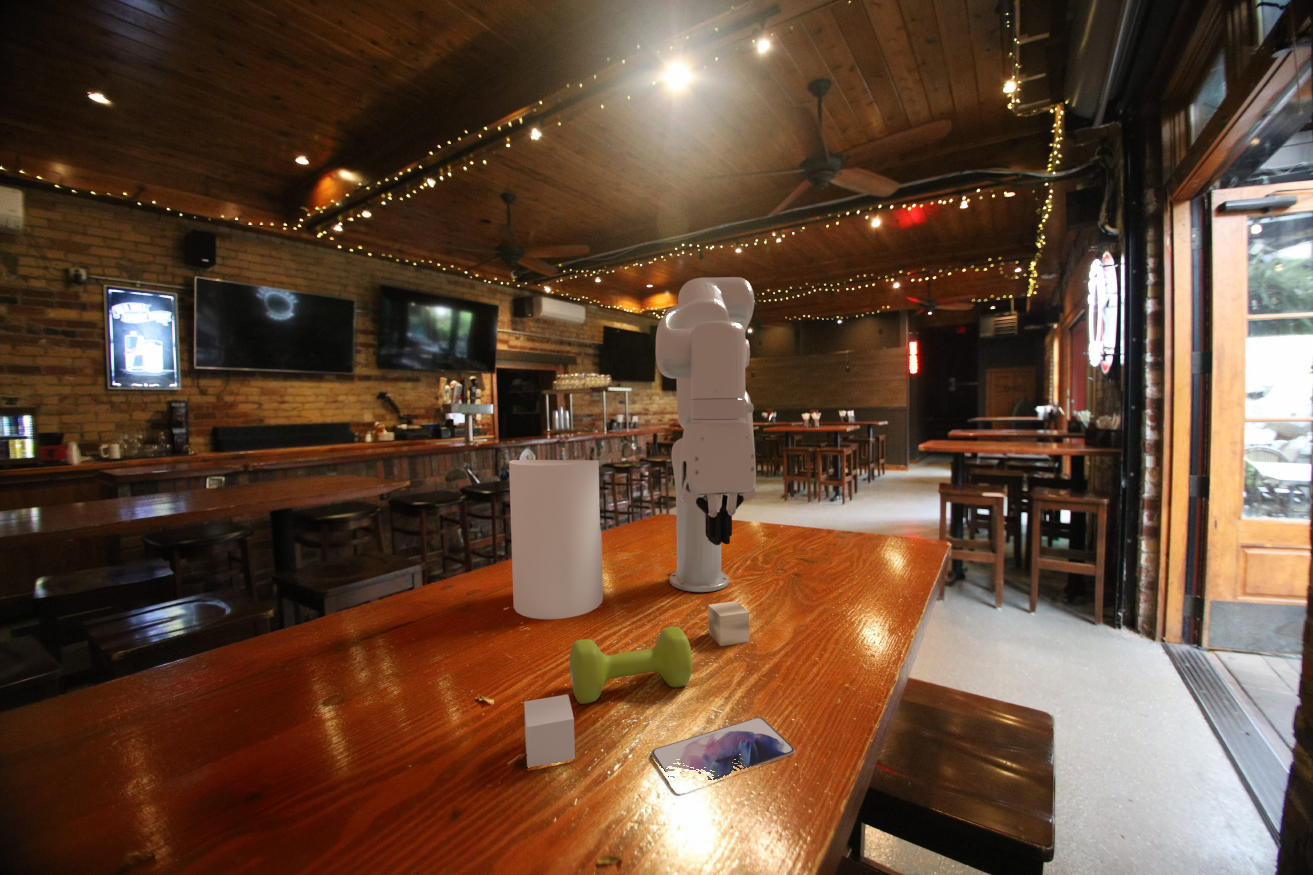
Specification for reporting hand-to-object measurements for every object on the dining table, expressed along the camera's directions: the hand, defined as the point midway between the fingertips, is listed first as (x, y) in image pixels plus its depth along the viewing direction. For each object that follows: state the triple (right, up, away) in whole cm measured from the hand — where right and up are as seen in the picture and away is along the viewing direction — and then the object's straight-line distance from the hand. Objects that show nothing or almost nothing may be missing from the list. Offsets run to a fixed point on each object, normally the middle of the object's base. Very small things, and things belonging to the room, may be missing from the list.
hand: (718, 541), depth 74 cm
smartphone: (-1, -21, -16) cm, 26 cm away
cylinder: (-28, -18, +29) cm, 44 cm away
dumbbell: (-12, -20, -2) cm, 23 cm away
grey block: (-21, -21, -15) cm, 33 cm away
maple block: (+3, -18, +13) cm, 22 cm away
